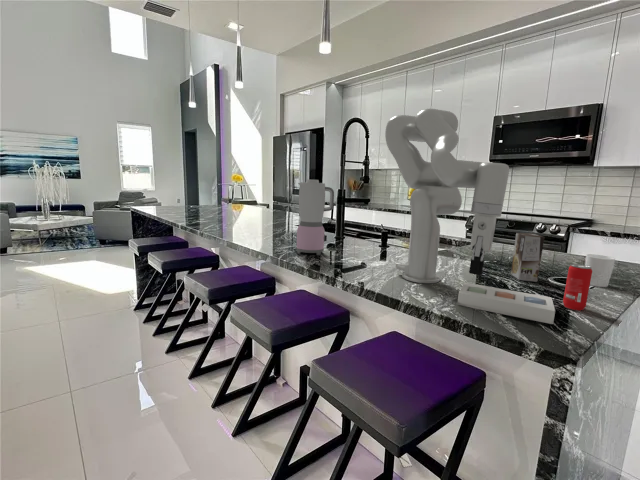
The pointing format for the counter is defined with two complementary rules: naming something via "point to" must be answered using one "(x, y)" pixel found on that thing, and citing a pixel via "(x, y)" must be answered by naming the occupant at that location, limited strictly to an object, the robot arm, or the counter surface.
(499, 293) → the button terracotta
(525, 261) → the coffee box
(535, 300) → the button slate
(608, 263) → the white cup
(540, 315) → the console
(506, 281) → the counter surface
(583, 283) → the beverage can
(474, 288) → the button sage
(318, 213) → the blender
